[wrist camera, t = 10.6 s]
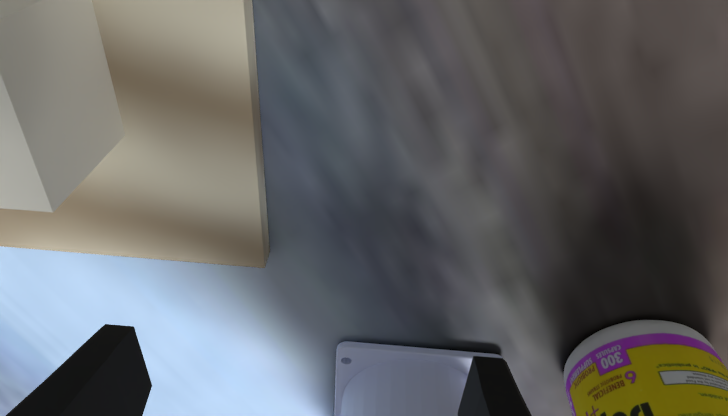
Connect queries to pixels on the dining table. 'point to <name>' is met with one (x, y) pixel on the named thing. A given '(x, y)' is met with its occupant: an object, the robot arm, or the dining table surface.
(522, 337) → the dining table surface
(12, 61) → the white cabinet with handle
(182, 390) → the dining table surface
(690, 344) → the supplement bottle
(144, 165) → the board
